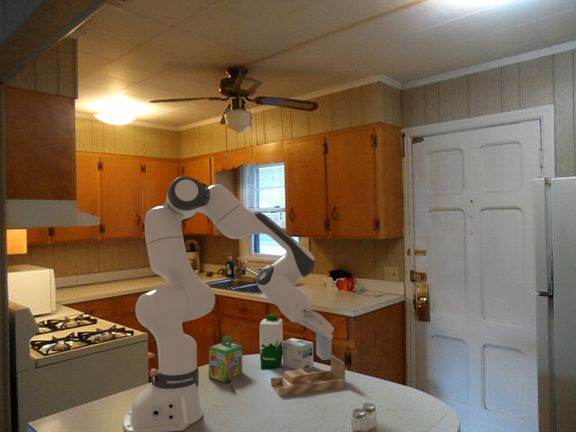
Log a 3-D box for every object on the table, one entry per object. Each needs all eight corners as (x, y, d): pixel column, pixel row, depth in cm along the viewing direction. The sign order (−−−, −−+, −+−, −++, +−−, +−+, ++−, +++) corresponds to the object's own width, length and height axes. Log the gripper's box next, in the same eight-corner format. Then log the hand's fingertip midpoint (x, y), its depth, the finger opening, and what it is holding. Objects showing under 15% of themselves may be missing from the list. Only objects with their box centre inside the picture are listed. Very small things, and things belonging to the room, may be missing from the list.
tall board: (322, 360, 136) (322, 324, 136) (316, 354, 141) (316, 320, 141) (331, 359, 137) (331, 324, 137) (324, 353, 142) (324, 320, 142)
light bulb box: (314, 369, 168) (313, 341, 168) (303, 374, 163) (303, 346, 163) (293, 363, 175) (292, 337, 175) (281, 368, 170) (281, 340, 170)
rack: (279, 400, 141) (279, 371, 141) (270, 388, 150) (270, 361, 150) (345, 390, 148) (344, 363, 148) (333, 379, 158) (332, 354, 158)
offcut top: (291, 384, 144) (291, 377, 144) (284, 378, 150) (283, 371, 150) (308, 381, 147) (308, 374, 147) (300, 375, 152) (300, 368, 152)
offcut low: (288, 393, 143) (288, 385, 143) (282, 385, 150) (282, 378, 150) (311, 389, 146) (311, 382, 146) (304, 382, 152) (304, 375, 152)
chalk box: (208, 378, 160) (207, 338, 160) (225, 371, 168) (224, 332, 168) (226, 383, 155) (226, 342, 155) (243, 375, 163) (243, 336, 163)
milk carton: (284, 363, 176) (283, 313, 176) (280, 371, 167) (279, 319, 167) (263, 362, 177) (262, 313, 177) (258, 370, 168) (257, 318, 168)
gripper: (320, 306, 127) (348, 335, 131) (290, 294, 145) (316, 320, 149) (306, 323, 125) (336, 352, 129) (278, 309, 143) (304, 335, 148)
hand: (325, 335), depth 139 cm, fingers closed on tall board, 6 cm apart
